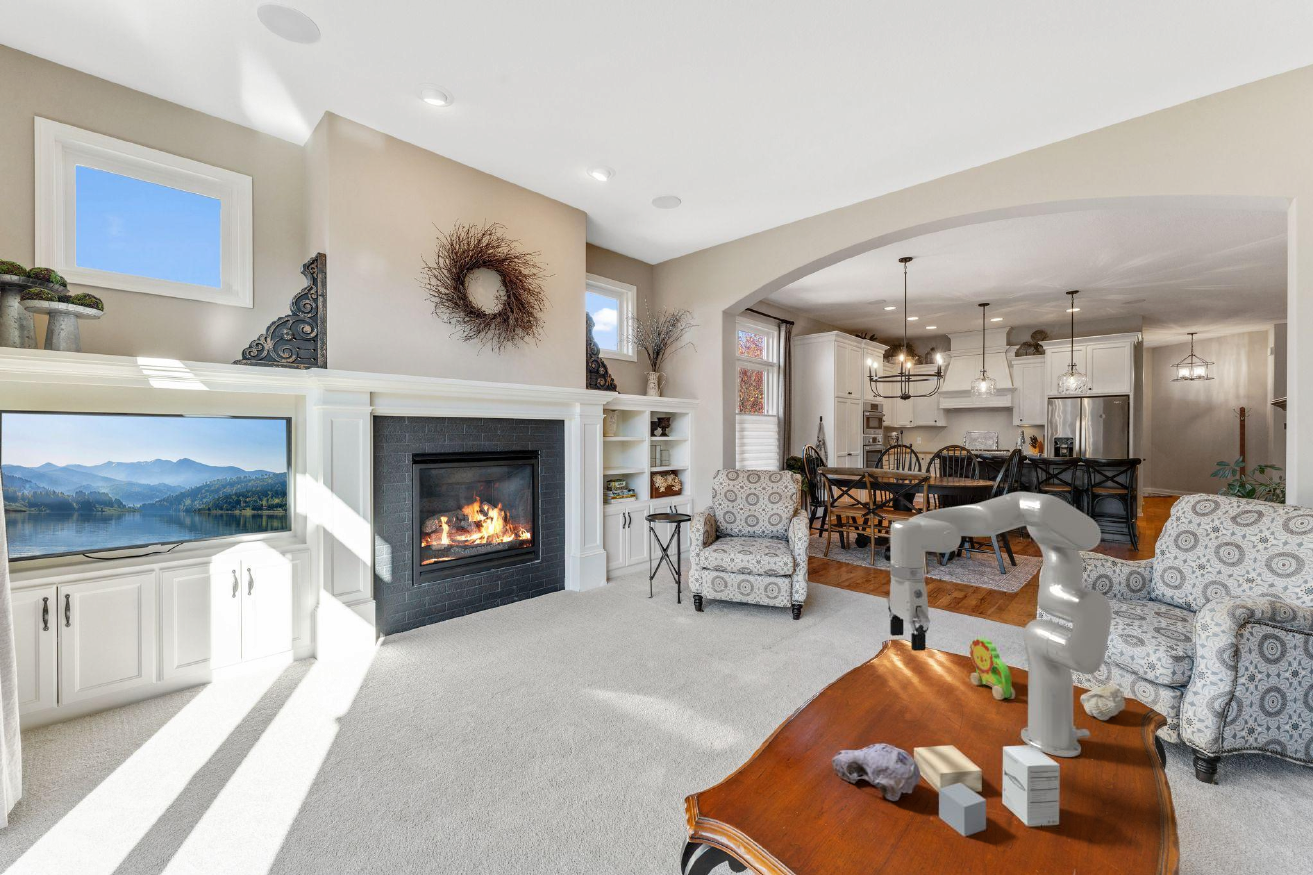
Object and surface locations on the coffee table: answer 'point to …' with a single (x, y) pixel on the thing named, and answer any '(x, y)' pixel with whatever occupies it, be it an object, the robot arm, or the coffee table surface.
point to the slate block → (962, 809)
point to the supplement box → (1031, 785)
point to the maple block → (947, 767)
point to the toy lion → (990, 669)
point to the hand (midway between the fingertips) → (907, 642)
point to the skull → (879, 768)
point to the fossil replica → (1103, 702)
